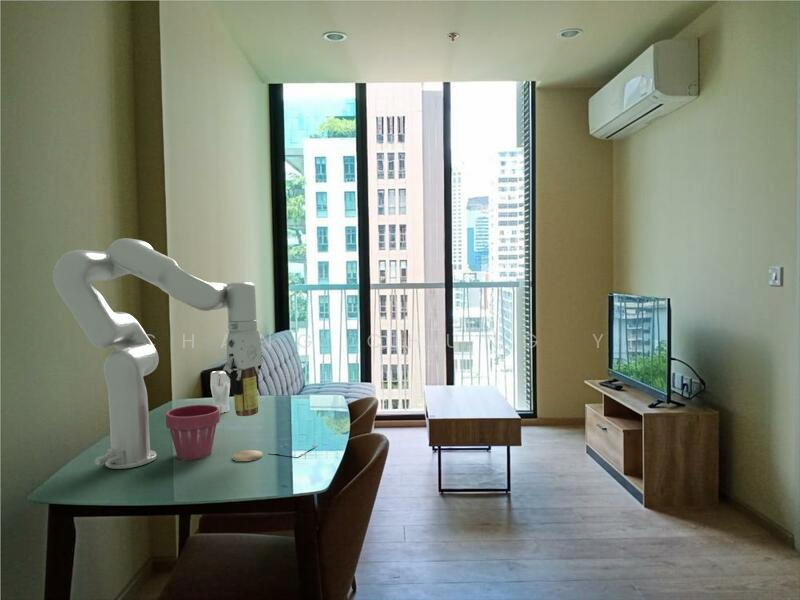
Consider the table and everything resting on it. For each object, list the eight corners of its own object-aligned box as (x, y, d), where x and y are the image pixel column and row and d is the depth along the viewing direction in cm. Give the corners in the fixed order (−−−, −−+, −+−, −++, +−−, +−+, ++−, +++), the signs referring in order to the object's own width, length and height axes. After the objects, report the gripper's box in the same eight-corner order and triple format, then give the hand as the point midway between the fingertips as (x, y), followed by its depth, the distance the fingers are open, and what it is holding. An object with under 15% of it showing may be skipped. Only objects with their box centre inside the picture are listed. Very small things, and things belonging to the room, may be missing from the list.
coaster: (250, 463, 141) (249, 461, 141) (226, 460, 144) (226, 458, 144) (268, 454, 148) (268, 451, 148) (245, 451, 151) (245, 449, 151)
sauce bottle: (260, 411, 148) (258, 341, 148) (255, 416, 142) (253, 343, 141) (237, 411, 148) (235, 341, 147) (231, 417, 142) (228, 344, 141)
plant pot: (231, 449, 153) (229, 405, 153) (197, 465, 140) (195, 418, 139) (192, 444, 158) (190, 402, 157) (155, 460, 145) (153, 414, 144)
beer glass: (210, 410, 198) (209, 371, 198) (229, 408, 201) (228, 369, 201) (212, 415, 192) (210, 374, 191) (232, 412, 195) (230, 372, 194)
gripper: (232, 330, 135) (235, 399, 136) (272, 324, 151) (275, 386, 152) (209, 330, 138) (212, 398, 138) (251, 324, 154) (254, 384, 154)
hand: (245, 391), depth 145 cm, fingers closed on sauce bottle, 6 cm apart
